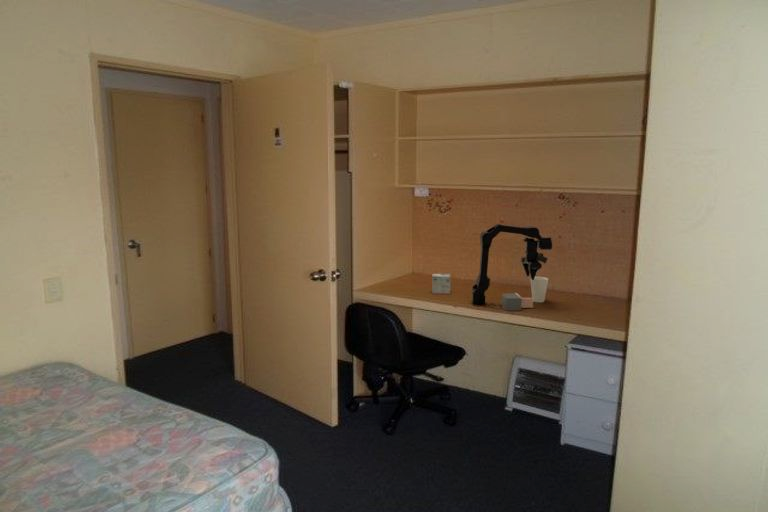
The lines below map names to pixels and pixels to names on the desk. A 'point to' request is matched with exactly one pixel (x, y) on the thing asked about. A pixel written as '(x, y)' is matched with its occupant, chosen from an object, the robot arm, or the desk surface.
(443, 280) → the light bulb box
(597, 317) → the desk surface
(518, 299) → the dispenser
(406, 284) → the desk surface
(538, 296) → the foam cup
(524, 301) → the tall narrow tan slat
